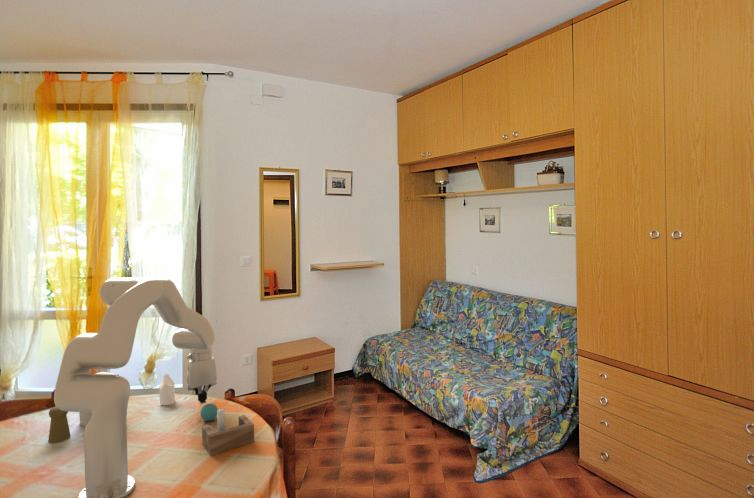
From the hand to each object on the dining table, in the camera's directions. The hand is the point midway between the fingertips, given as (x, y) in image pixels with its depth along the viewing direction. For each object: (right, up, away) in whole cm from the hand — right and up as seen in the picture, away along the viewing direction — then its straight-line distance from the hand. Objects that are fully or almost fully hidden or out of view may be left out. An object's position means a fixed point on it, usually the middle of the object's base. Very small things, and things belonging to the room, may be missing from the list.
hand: (202, 402), depth 161 cm
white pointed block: (-18, -4, +8) cm, 20 cm away
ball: (+6, -1, -8) cm, 10 cm away
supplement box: (-34, -4, -8) cm, 35 cm away
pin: (+14, -4, -19) cm, 24 cm away
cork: (-39, -5, -21) cm, 45 cm away
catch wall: (+19, -4, -25) cm, 31 cm away
